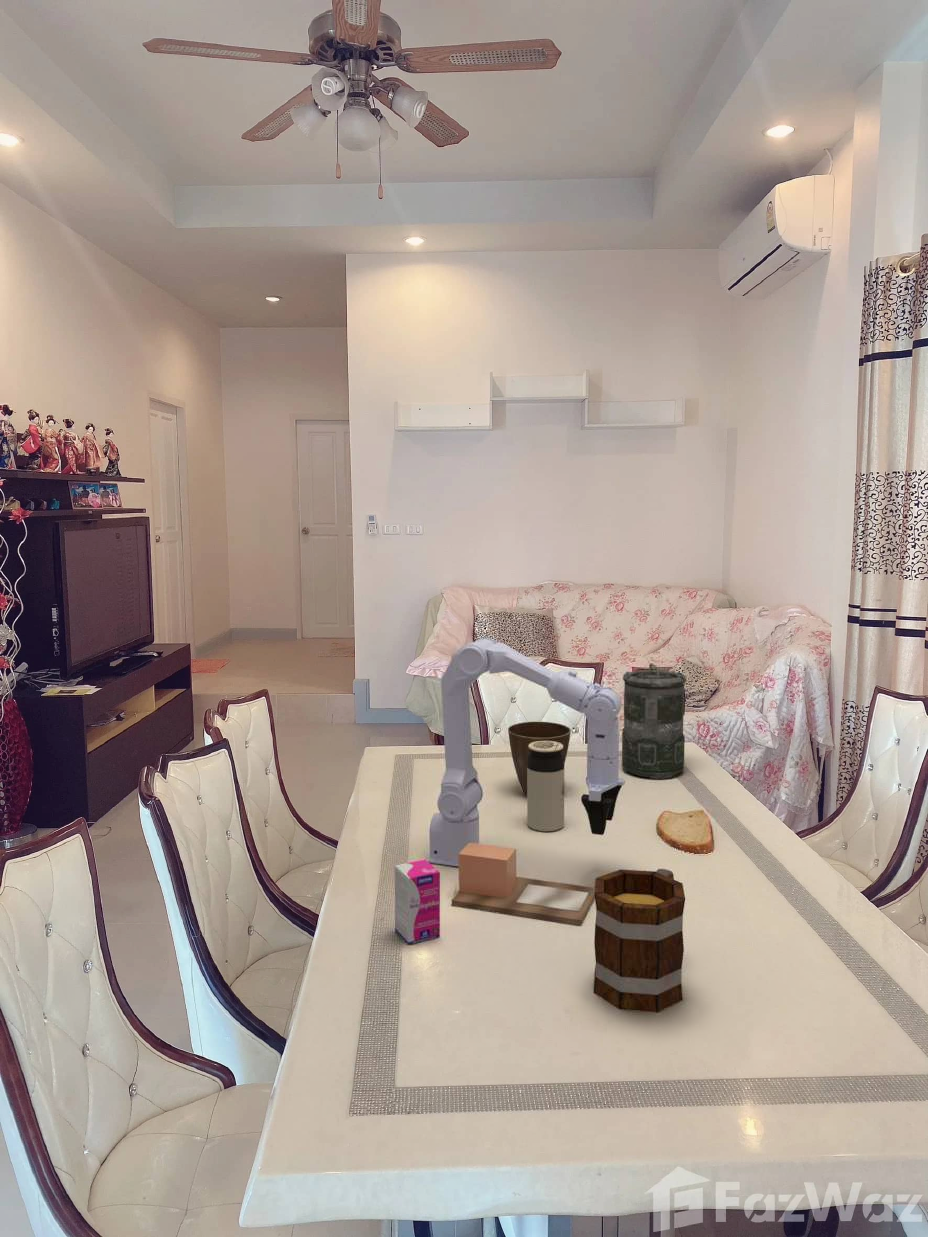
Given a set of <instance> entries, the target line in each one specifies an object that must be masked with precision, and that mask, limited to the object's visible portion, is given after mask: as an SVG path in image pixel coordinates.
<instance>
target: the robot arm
mask: <svg viewBox="0 0 928 1237" xmlns="http://www.w3.org/2000/svg"><path fill="white" fill-rule="evenodd" d="M486 672H488V673H489V674H490V675H491V674H499V673H505V672H509V673H511V674H514V675H516V676H518V677H521V678H523V679H525V680H527V681H529V682H531V683H534V684H535V685H537V686H538V685H539V686H541V687H543V688H546V690H547V692H548V695H549V697H550V698H551V699H553V700H554V701H556V702H559V703H561V704H562V705H564V706H566V707H568V708H571V709H572V710H575V711H576V712H579V713H581V714H584V716H585V718H586V720H587V735H586V736H587V737H586V739H587V742H586V743H587V744H586V746H587V747H586V748H587V749H586V751H587V752H586V754H587V755H586V758H587V759H586V760H587V761H586V777H585V783H586V786H587V789H588V794H585V793H584V794H583V793H582V795H581V797H580V799H581V800H580V801H581V804H582V805H583V807H584V809H585V811H586V814H587V817H588V822H589V827H590V831H591V834H592V835H599V836H604V834H605V830H606V827H607V821H609V822H610V821H612V820H613V818H614V813H615V808H616V804H617V799H618V796H619V793H620V790H621V788H623V786H624V785H625V783H626V779H624V778H620V777H619V769H620V767H619V766H620V765H619V761H620V760H619V758H620V757H619V756H620V752H619V751H620V730H619V717H618V715H619V713H620V712H621V709H622V705H623V704H622V698H621V696H620V695H619V693H617V691H615V690H614V689H613V688H611V687H609V686H602V687H601V684H599V683H597V682H595V683H592V682H591V681H589V680H588V681H587V680H586V679H583V678H582V677H580V676H577V675H578V672H577V671H575V670H573V669H571V670H569V671H568V670H565V669H564V670H560V671H557V672H555V671H553V670H551V669H549V668H547V666H544V665H542V664H540V663H539V662H536V661H535V660H533V659H531V658H530V657H528V656H526V655H524V654H522V653H520V652H518V651H517V650H515V649H513V648H512V647H510V646H509V645H507V644H505V643H503V642H500V641H498V642H497V641H496V640H495V639H493V638H491V637H481V638H478V639H477V640H475V641H473V642H471V643H467V644H465V645H463V646H461V647H460V648H459V649H457V650H456V651H455V652H454V653H453V654H452V655H451V659H450V662H449V664H448V665H447V667H446V669H445V671H444V673H443V674H442V677H441V681H440V686H441V688H440V689H441V704H442V706H441V707H442V720H443V721H442V723H443V724H442V726H443V741H444V757H445V758H444V760H445V772H444V774H443V776H442V779H441V783H440V794H439V795H438V797H437V809H438V811H439V812H435V813H434V814H433V815H432V818H431V820H430V824H429V829H428V830H429V831H428V832H429V859H428V860H427V861H428V862H429V863H430V864H437V865H446V866H452V867H453V866H454V867H457V868H459V853H460V852H461V851H462V850H463V849H464V848H465V847H466V845H467V844H468V843H469V842H470V843H477V844H480V812H479V809H478V805H479V804H480V803H481V801H482V799H483V795H484V791H483V790H484V789H483V787H482V784H481V782H480V781H479V776H478V771H477V770H476V768H475V767H474V766H473V765H474V764H473V763H474V762H473V747H472V746H473V745H472V729H471V709H470V708H471V706H470V691H469V690H470V689H469V688H470V686H472V684H474V682H475V681H477V679H479V677H480V676H482V675H483V674H484V673H486Z"/></svg>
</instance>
